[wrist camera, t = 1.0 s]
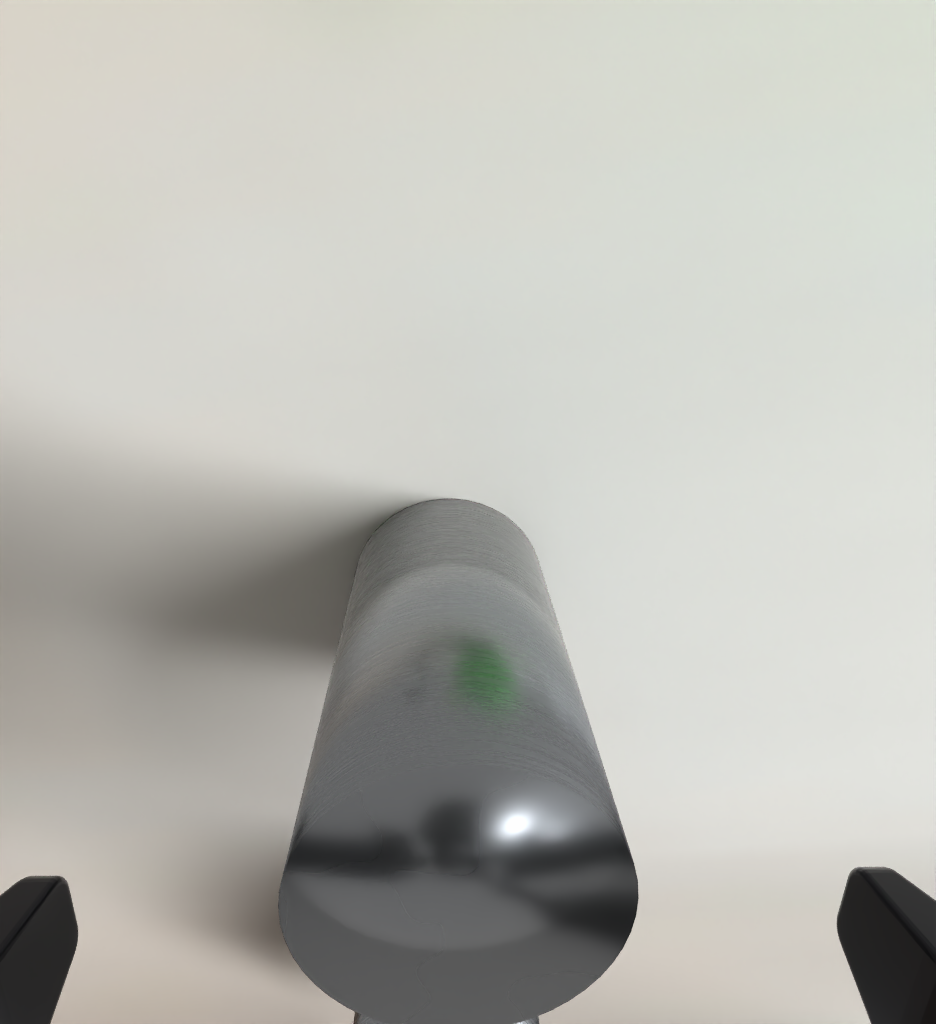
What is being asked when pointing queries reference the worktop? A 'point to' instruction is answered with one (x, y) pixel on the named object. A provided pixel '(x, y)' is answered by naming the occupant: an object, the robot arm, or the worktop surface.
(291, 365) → the worktop surface
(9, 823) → the worktop surface
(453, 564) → the tall pin
